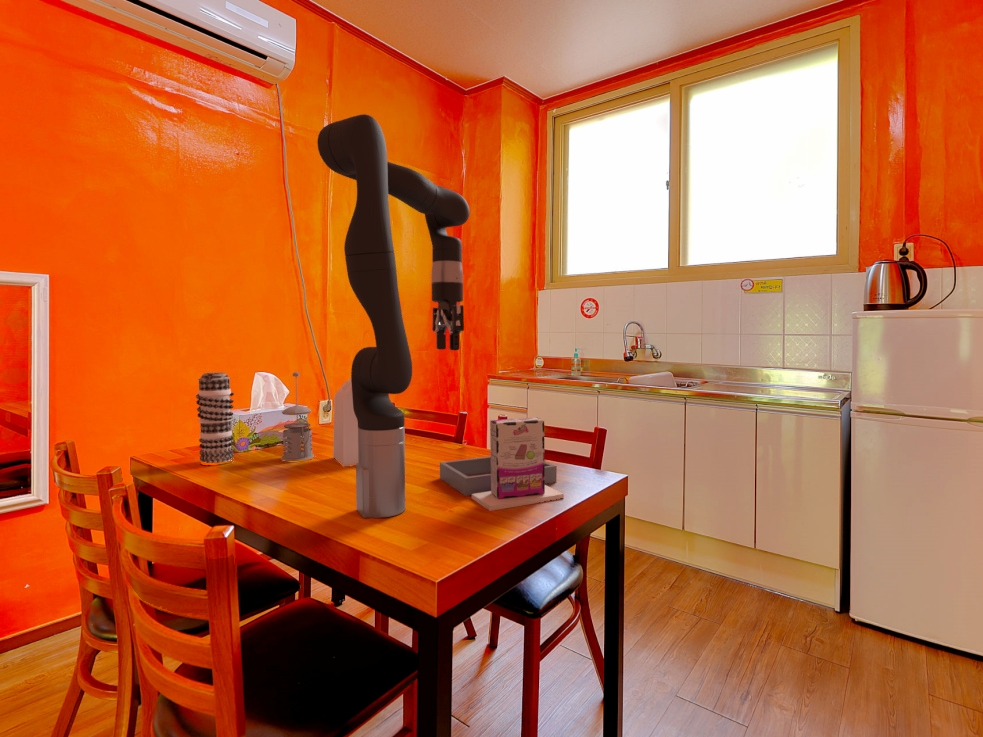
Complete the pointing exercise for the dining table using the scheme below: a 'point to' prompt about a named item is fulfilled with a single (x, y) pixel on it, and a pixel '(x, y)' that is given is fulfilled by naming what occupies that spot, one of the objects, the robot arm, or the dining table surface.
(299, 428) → the french press
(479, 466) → the bin
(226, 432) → the decorative candle
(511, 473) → the candy bar box
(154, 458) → the dining table surface
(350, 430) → the milk
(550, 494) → the board
